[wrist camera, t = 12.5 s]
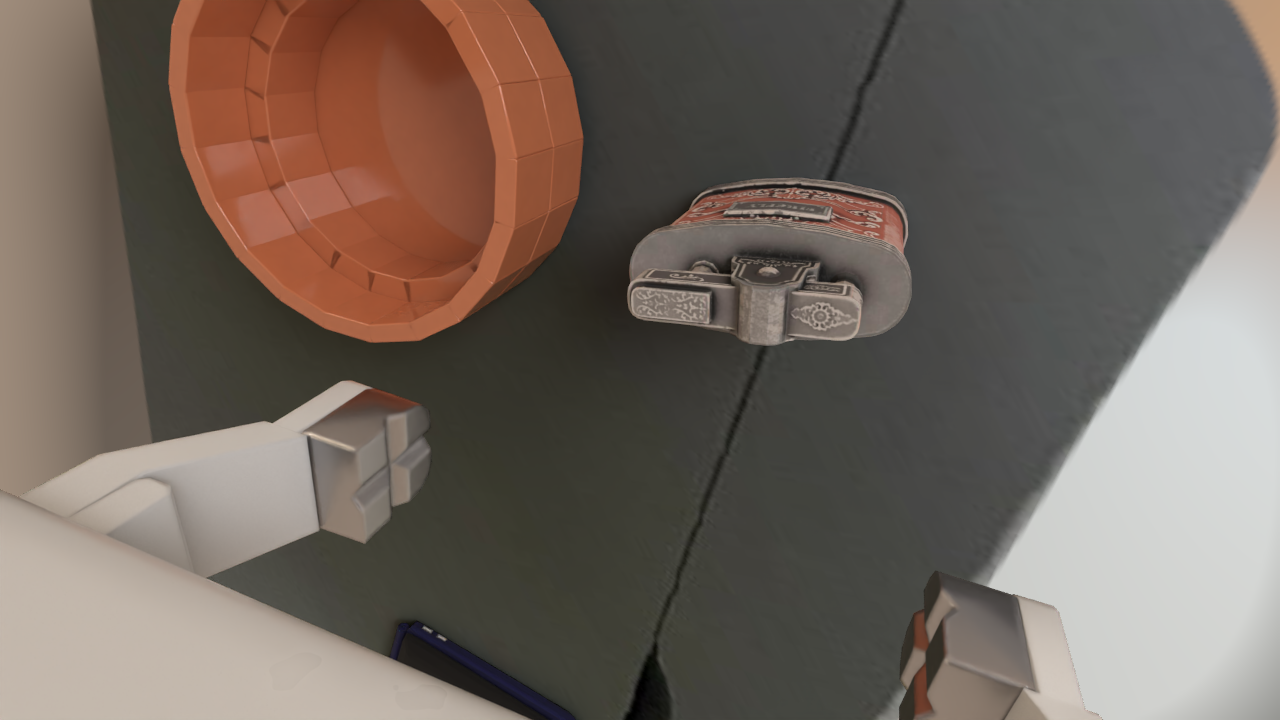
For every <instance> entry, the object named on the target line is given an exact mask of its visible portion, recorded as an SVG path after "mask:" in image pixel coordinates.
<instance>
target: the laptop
mask: <svg viewBox="0 0 1280 720" xmlns="http://www.w3.org/2000/svg"><path fill="white" fill-rule="evenodd" d="M390 658H391V659H393V660H396V661H398V662H400V663H403V664H405V665H407V666H410V667H412V668H414V669H416V670H419V671H421V672H423V673H426V674H428V675H430V676H433V677H435V678H437V679H440V680H442V681H444V682H446V683H449V684H451V685H453V686H456V687H458V688H460V689H463V690H465V691H467V692H470V693H472V694H474V695H476V696H479V697H481V698H483V699H486V700H488V701H490V702H493V703H495V704H497V705H500V706H502V707H504V708H506V709H509V710H511V711H513V712H516V713H518V714H520V715H523V716H525V717H527V718H530V719H532V720H576V719H575V718H574V717H573V716H572V715H571V714H570V713H569V712H567V711H566V710H564V709H562V708H561V707H559V706H557V705H556V704H554V703H552V702H551V701H549V700H547V699H546V698H544V697H542V696H541V695H539V694H537V693H536V692H534V691H533V690H531V689H529V688H528V687H526V686H524V685H523V684H521V683H519V682H518V681H516V680H514V679H513V678H511V677H509V676H508V675H506V674H504V673H503V672H501V671H499V670H498V669H496V668H494V667H493V666H491V665H490V664H488V663H486V662H485V661H483V660H481V659H480V658H478V657H476V656H475V655H473V654H471V653H470V652H468V651H466V650H465V649H463V648H461V647H460V646H458V645H456V644H455V643H453V642H452V641H450V640H448V639H447V638H445V637H443V636H442V635H440V634H438V633H437V632H435V631H433V630H432V629H430V628H428V627H427V626H425V625H423V624H422V623H420V622H417V621H416V622H415V623H414V624H413V625H412V626H411V627H409V625H408V624H407V623H401V624H400V625H399V626H398V628H397V632H396V635H395V640H394V643H393V647H392V651H391V654H390Z"/></svg>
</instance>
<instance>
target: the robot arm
mask: <svg viewBox="0 0 1280 720" xmlns="http://www.w3.org/2000/svg"><path fill="white" fill-rule="evenodd" d="M430 428H431V425H430V412H429V410H428V409H427V408H426V407H425V406H423V405H421V404H418V403H416V402H413V401H410V400H407V399H404V398H401V397H398V396H396V395H393V394H390V393H387V392H384V391H381V390H378V389H373V388H371V387H369V386H366V385H363V384H360V383H357V382H354V381H341V382H339V383H338V384H336V385H334V386H333V387H331V388H329V389H328V390H326V391H325V392H323V393H321V394H320V395H318V396H316V397H315V398H313V399H312V400H310V401H308V402H307V403H305V404H303V405H302V406H300V407H299V408H297V409H295V410H294V411H292V412H290V413H289V414H287V415H286V416H284V417H282V418H281V419H279V420H277V421H276V422H274V423H273V424H272V423H269V422H266V421H262V422H258V423H253V424H248V425H243V426H238V427H233V428H228V429H223V430H218V431H213V432H208V433H203V434H198V435H193V436H188V437H183V438H178V439H173V440H168V441H163V442H158V443H153V444H148V445H143V446H138V447H133V448H128V449H123V450H118V451H113V452H108V453H103V454H98V455H97V456H95V457H93V458H91V459H89V460H87V461H85V462H83V463H81V464H80V465H78V466H76V467H74V468H72V469H70V470H68V471H66V472H65V473H62V474H60V475H59V476H57V477H55V478H53V479H51V480H49V481H47V482H45V483H43V484H41V485H40V486H38V487H36V488H34V489H32V490H30V491H28V492H26V493H24V494H23V495H20V496H19V497H17V496H15V495H12V494H10V493H7V492H5V491H3V490H1V489H0V720H532V719H530V718H527V717H525V716H523V715H520V714H518V713H516V712H513V711H511V710H509V709H506V708H504V707H502V706H500V705H497V704H495V703H493V702H490V701H488V700H486V699H483V698H481V697H479V696H476V695H474V694H472V693H470V692H467V691H465V690H463V689H460V688H458V687H456V686H453V685H451V684H449V683H446V682H444V681H442V680H440V679H437V678H435V677H433V676H430V675H428V674H426V673H423V672H421V671H419V670H416V669H414V668H412V667H410V666H407V665H405V664H403V663H400V662H398V661H396V660H393V659H391V658H389V657H386V656H384V655H382V654H380V653H377V652H375V651H373V650H370V649H368V648H366V647H363V646H361V645H359V644H356V643H354V642H352V641H350V640H347V639H345V638H343V637H340V636H338V635H336V634H333V633H331V632H329V631H326V630H324V629H322V628H320V627H317V626H315V625H313V624H310V623H308V622H306V621H303V620H301V619H299V618H296V617H294V616H292V615H289V614H287V613H285V612H283V611H280V610H278V609H276V608H273V607H271V606H269V605H266V604H264V603H262V602H259V601H257V600H255V599H253V598H250V597H248V596H246V595H243V594H241V593H239V592H236V591H234V590H232V589H229V588H227V587H225V586H223V585H220V584H218V583H216V582H213V581H211V580H209V579H206V578H207V577H209V576H212V575H214V574H217V573H219V572H221V571H224V570H226V569H229V568H231V567H233V566H236V565H238V564H240V563H243V562H245V561H248V560H250V559H252V558H255V557H257V556H260V555H262V554H264V553H267V552H269V551H272V550H274V549H276V548H279V547H281V546H283V545H286V544H288V543H291V542H293V541H295V540H298V539H300V538H303V537H305V536H307V535H310V534H312V533H314V532H317V531H319V530H320V529H319V528H322V529H325V530H328V531H331V532H333V533H336V534H339V535H342V536H345V537H348V538H350V539H353V540H356V541H359V542H362V543H364V544H365V543H366V542H367V541H368V540H369V539H370V538H371V537H372V536H373V535H374V534H375V533H377V532H378V531H379V530H380V529H381V528H382V527H383V526H384V525H385V524H386V523H387V522H388V521H389V520H390V519H391V518H392V510H393V506H396V505H400V504H403V503H406V502H409V501H410V500H411V499H412V498H413V497H414V496H415V495H416V494H417V493H418V492H419V491H420V490H421V488H422V486H423V485H424V483H425V481H426V479H427V477H428V475H429V471H430V467H431V462H432V454H431V448H430V446H429V445H428V443H427V441H426V440H425V438H424V435H425V433H426V432H427V431H428V430H429V429H430ZM900 681H901V683H902V684H903V686H904V687H905V689H906V690H907V692H906V694H905V696H904V698H903V701H902V703H901V705H900V707H899V720H1103V719H1102V718H1101V717H1100V716H1099V715H1098V714H1096V713H1093V712H1091V711H1088V710H1085V706H1084V702H1083V699H1082V695H1081V691H1080V688H1079V684H1078V681H1077V677H1076V673H1075V669H1074V666H1073V662H1072V658H1071V654H1070V651H1069V647H1068V644H1067V640H1066V636H1065V633H1064V629H1063V625H1062V622H1061V618H1060V614H1059V612H1058V611H1057V609H1056V608H1055V607H1054V606H1051V605H1048V604H1045V603H1041V602H1038V601H1035V600H1031V599H1028V598H1025V597H1021V596H1018V595H1015V594H1013V595H1011V594H1008V593H1005V592H1001V591H998V590H995V589H992V588H989V587H986V586H983V585H980V584H976V583H973V582H970V581H967V580H964V579H961V578H957V577H954V576H951V575H948V574H945V573H942V572H939V571H935V572H934V573H933V574H932V576H931V577H930V579H929V581H928V583H927V585H926V587H925V589H924V609H922V610H920V611H918V612H916V613H914V614H913V616H912V619H911V621H910V624H909V626H908V629H907V631H906V635H905V639H904V643H903V647H902V652H901V660H900Z"/></svg>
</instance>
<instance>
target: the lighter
mask: <svg viewBox="0 0 1280 720" xmlns="http://www.w3.org/2000/svg"><path fill="white" fill-rule="evenodd" d="M907 237H908V218H907V215H906V212H905V209H904V207H903V205H902V204H901V203H900V202H899V201H898V199H897V198H896V197H894V196H892V195H890V194H888V193H886V192H881V191H877V190H873V189H868V188H864V187H860V186H855V185H851V184H847V183H842V182H833V181H824V180H814V179H805V178H777V179H753V180H747V181H741V182H734V183H728V184H722V185H716V186H713V187H711V188H708V189H706V190H705V191H704V192H702V193H701V194H700V195H699V196H698V197H697V198H696V199H695V200H694V201H693V203H692V205H691V207H690V209H689V210H688V211H687V212H686V213H685V214H683V215H682V216H681V217H680V218H678V219H677V220H676V221H675V222H674V223H672V224H671V225H670V226H665V227H662V228H659V229H657V230H654V231H653V232H651V233H650V234H649V235H648V236H646V237H645V238H644V239H643V240H642V241H641V242H640V243H639V244H638V245H637V246H636V248H635V250H634V252H633V255H632V257H631V261H630V269H629V274H630V280H631V283H630V285H629V287H628V294H627V298H628V307H629V310H630V312H631V313H632V315H634V316H635V317H637V318H639V319H643V320H649V321H659V322H668V323H677V324H687V325H695V326H699V327H702V328H706V329H711V330H717V331H722V332H728V333H731V334H732V335H735V336H736V337H737V338H738V339H739V340H741V341H743V342H746V343H749V344H756V345H765V346H768V345H778V344H781V343H783V342H786V341H792V340H795V339H798V340H824V339H828V340H848V339H851V338H855V337H870V336H874V335H878V334H882V333H884V332H886V331H887V330H889V329H890V328H892V327H893V326H895V325H896V324H897V323H898V322H899V320H900V319H901V318H902V317H903V315H904V314H905V313H906V311H907V308H908V305H909V302H910V299H911V271H910V268H909V266H908V263H907V261H906V258H905V256H904V255H903V249H904V246H905V243H906V240H907Z"/></svg>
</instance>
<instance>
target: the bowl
mask: <svg viewBox="0 0 1280 720" xmlns="http://www.w3.org/2000/svg"><path fill="white" fill-rule="evenodd" d="M168 84H169V89H170V95H171V100H172V106H173V111H174V117H175V122H176V128H177V133H178V139H179V144H180V147H181V152H182V155H183V157H184V160H185V162H186V165H187V167H188V170H189V172H190V174H191V177H192V179H193V182H194V184H195V187H196V189H197V192H198V194H199V197H200V199H201V201H202V204H203V206H204V207H205V210H206V211H207V213H208V214H209V216H210V217H211V219H212V220H213V222H214V224H215V225H216V227H217V228H218V230H219V231H220V233H221V234H222V236H223V237H224V239H225V240H226V242H227V243H228V245H229V246H230V248H231V249H232V251H233V252H234V254H235V256H236V257H237V258H239V260H240V261H241V262H242V263H243V264H244V265H245V266H246V267H247V268H248V269H249V270H250V271H251V272H252V273H253V274H254V275H255V276H256V277H257V278H258V279H259V280H260V281H261V282H262V283H263V284H264V285H265V286H266V287H267V288H268V289H269V290H270V291H271V292H272V293H273V294H274V295H275V296H276V298H278V299H280V301H282V302H283V303H285V304H286V305H288V306H289V307H291V308H293V309H294V310H296V311H297V312H299V313H301V314H302V315H304V316H305V317H307V318H308V319H310V320H312V321H313V322H315V323H316V324H318V325H320V326H321V327H323V328H325V329H327V330H331V331H334V332H337V333H341V334H344V335H347V336H351V337H354V338H357V339H361V340H364V341H367V342H373V343H378V342H402V341H420V340H422V339H424V338H426V337H429V336H431V335H433V334H435V333H437V332H439V331H442V330H444V329H446V328H448V327H450V326H452V325H454V324H457V323H459V322H461V321H462V320H464V319H465V318H467V317H468V316H470V315H471V314H473V313H474V312H476V311H478V310H479V309H481V308H482V307H484V306H485V305H487V304H488V303H490V302H491V301H493V300H495V299H496V298H497V297H499V296H501V295H502V294H504V293H505V292H507V291H508V290H510V289H511V288H513V287H514V286H516V285H517V284H519V283H521V282H522V281H524V280H525V279H527V278H528V277H529V276H530V275H531V274H532V273H533V272H534V271H535V270H536V269H537V267H538V266H539V265H540V264H541V263H542V262H543V261H544V260H545V259H546V258H547V257H548V256H549V254H550V253H551V252H552V251H553V250H554V249H555V248H556V247H557V246H558V244H559V242H560V240H561V237H562V235H563V233H564V230H565V228H566V225H567V223H568V221H569V218H570V216H571V213H572V211H573V209H574V206H575V204H576V201H577V199H578V195H579V184H580V172H581V161H582V149H583V132H582V127H581V122H580V117H579V112H578V106H577V101H576V96H575V91H574V85H573V80H572V76H571V74H570V72H569V70H568V68H567V66H566V64H565V62H564V60H563V58H562V56H561V53H560V51H559V49H558V47H557V45H556V43H555V41H554V39H553V37H552V35H551V33H550V31H549V29H548V27H547V25H546V23H545V21H544V19H543V17H541V15H540V13H539V12H538V11H537V10H536V9H535V8H534V7H533V6H532V4H531V3H530V2H529V1H528V0H181V1H180V3H179V6H178V9H177V11H176V14H175V17H174V19H173V24H172V29H171V46H170V64H169V81H168Z"/></svg>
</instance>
